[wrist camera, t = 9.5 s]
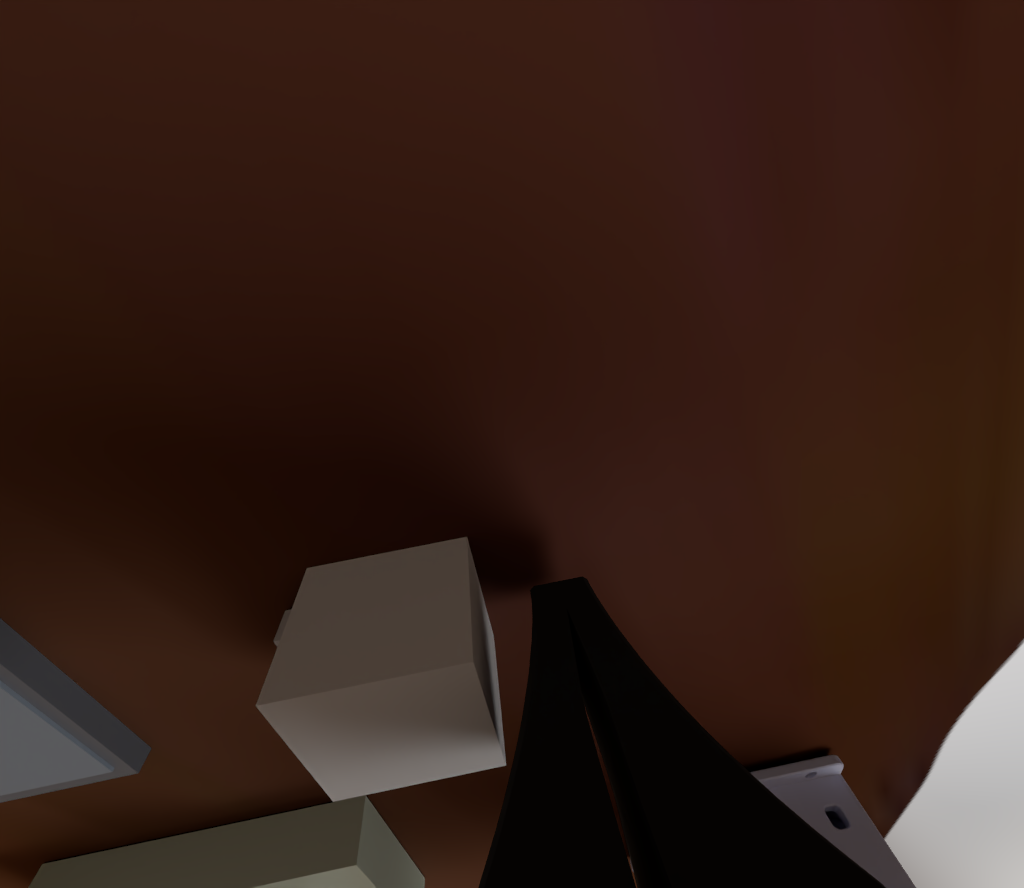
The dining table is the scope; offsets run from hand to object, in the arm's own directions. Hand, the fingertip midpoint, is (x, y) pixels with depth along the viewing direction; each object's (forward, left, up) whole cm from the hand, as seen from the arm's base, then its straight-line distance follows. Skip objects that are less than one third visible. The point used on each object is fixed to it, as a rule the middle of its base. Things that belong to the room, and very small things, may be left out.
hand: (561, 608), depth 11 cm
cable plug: (+4, 0, -1) cm, 4 cm away
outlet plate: (+14, +14, -1) cm, 20 cm away
